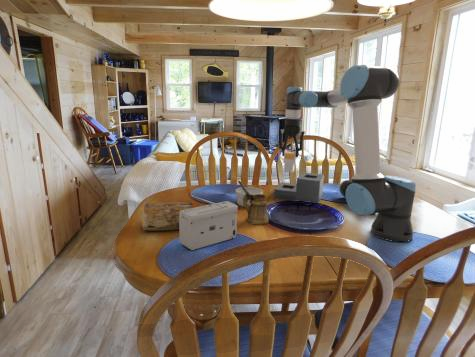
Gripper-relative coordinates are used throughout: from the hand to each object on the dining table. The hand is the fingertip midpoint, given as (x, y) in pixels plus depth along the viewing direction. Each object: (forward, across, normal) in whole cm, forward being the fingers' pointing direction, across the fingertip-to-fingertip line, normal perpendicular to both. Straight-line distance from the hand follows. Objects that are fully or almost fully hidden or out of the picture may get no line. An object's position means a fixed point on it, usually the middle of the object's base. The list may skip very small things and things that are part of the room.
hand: (289, 162), depth 174 cm
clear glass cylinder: (+5, 0, 0) cm, 5 cm away
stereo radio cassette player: (+18, +14, +69) cm, 73 cm away
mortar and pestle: (+18, +6, +43) cm, 47 cm away
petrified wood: (+18, +35, +63) cm, 74 cm away
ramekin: (+18, +15, +22) cm, 32 cm away
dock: (+18, -6, 0) cm, 19 cm away
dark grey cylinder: (+18, -36, +1) cm, 41 cm away
